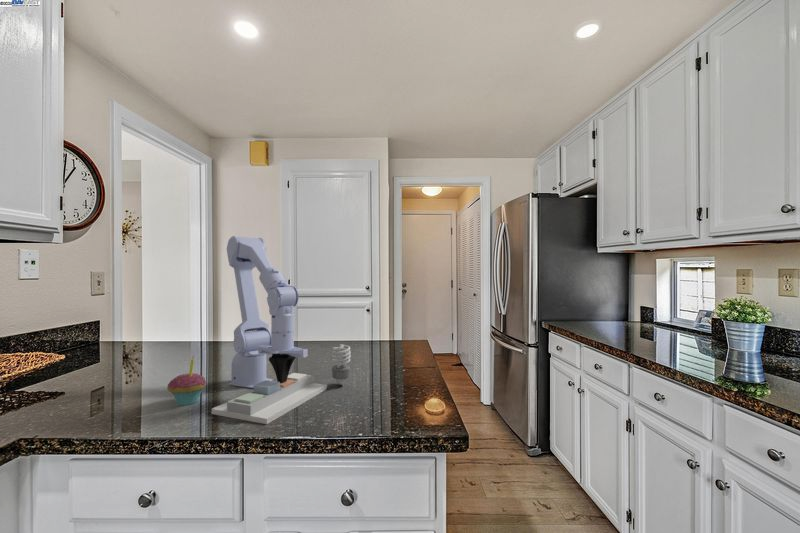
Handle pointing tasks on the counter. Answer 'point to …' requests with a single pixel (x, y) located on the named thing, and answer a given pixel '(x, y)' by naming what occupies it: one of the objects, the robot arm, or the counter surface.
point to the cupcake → (187, 387)
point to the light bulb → (341, 364)
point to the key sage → (249, 398)
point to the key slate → (266, 387)
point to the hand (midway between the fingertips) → (282, 382)
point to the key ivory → (296, 376)
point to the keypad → (272, 402)
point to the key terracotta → (286, 383)
